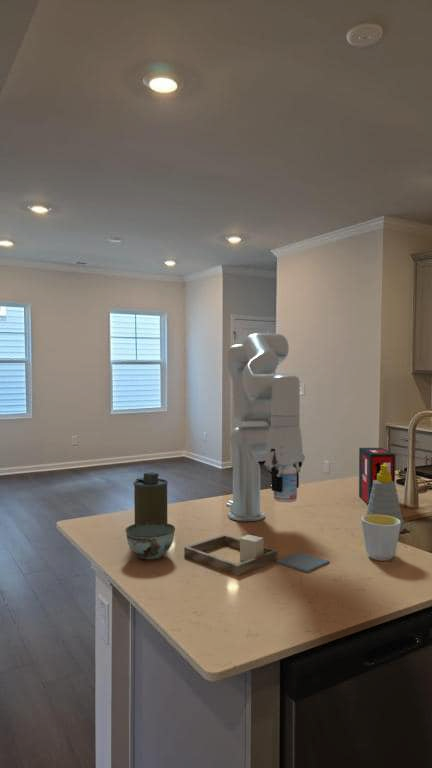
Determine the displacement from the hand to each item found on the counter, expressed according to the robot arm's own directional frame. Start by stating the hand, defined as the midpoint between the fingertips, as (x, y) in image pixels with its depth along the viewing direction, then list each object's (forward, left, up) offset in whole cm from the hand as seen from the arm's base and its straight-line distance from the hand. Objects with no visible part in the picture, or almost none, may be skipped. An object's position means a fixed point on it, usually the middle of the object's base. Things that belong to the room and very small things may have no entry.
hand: (285, 488), depth 142 cm
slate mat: (+4, +2, -20) cm, 20 cm away
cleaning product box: (-14, +74, -20) cm, 78 cm away
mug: (+16, +22, -20) cm, 34 cm away
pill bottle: (0, 0, -3) cm, 3 cm away
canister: (-41, -14, -20) cm, 48 cm away
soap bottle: (+4, +46, -20) cm, 51 cm away
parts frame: (-12, -9, -20) cm, 25 cm away
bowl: (-28, -24, -20) cm, 42 cm away
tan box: (-7, -6, -20) cm, 22 cm away
